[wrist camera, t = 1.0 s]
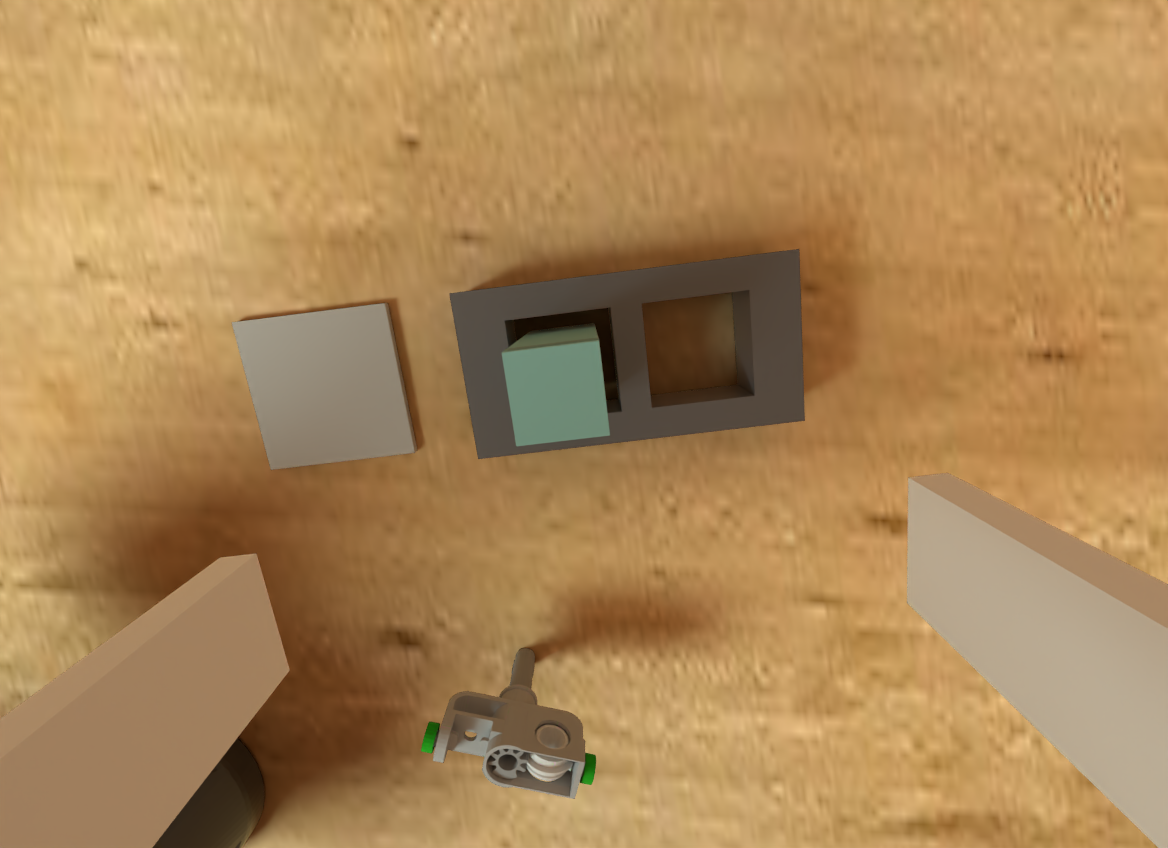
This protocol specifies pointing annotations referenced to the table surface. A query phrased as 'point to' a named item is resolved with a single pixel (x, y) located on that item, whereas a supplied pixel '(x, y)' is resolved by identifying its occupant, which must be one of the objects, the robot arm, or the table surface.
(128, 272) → the table surface
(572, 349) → the plug
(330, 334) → the mat
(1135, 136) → the table surface
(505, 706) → the mechanical component
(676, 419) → the cinder block
